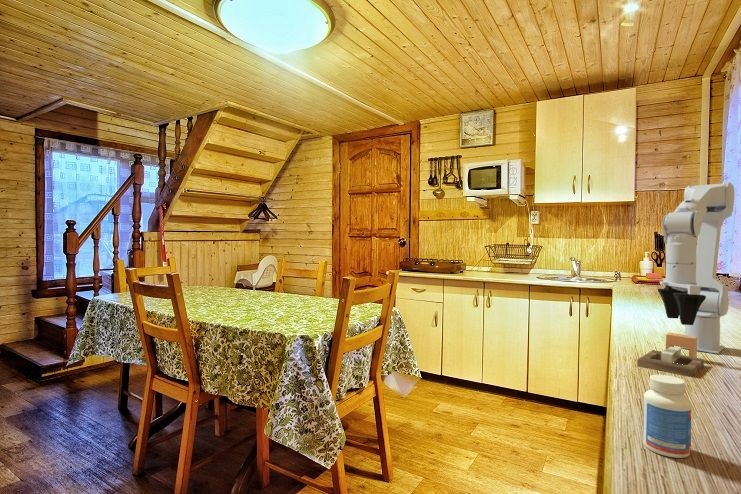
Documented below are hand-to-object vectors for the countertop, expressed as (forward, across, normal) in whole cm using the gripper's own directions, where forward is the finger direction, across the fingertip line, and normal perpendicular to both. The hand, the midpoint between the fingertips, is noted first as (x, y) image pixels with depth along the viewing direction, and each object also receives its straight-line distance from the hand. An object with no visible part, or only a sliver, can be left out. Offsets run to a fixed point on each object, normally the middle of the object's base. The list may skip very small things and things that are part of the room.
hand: (679, 321), depth 97 cm
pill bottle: (+10, +47, -19) cm, 52 cm away
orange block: (+10, -5, +2) cm, 11 cm away
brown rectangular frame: (+10, +3, -3) cm, 11 cm away
